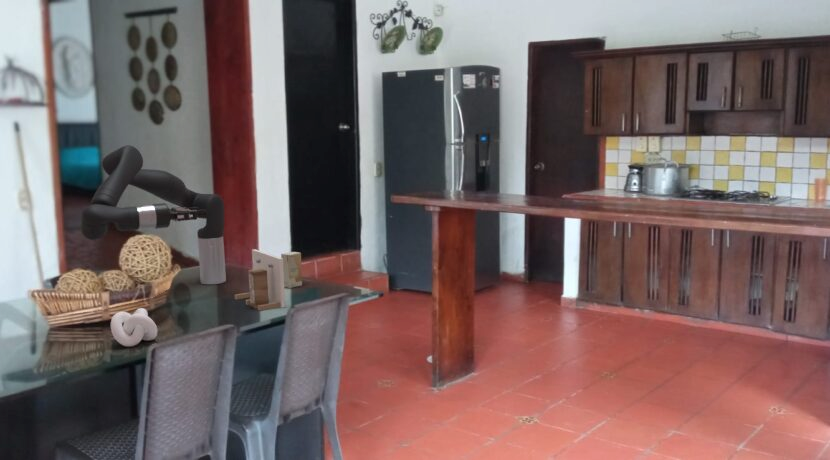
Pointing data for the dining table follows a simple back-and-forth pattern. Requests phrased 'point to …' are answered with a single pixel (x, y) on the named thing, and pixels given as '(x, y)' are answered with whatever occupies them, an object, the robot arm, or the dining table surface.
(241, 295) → the white upright flat panel
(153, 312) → the dining table surface
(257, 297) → the frame block
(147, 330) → the white knot sculpture
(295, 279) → the skincare box
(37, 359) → the dining table surface
